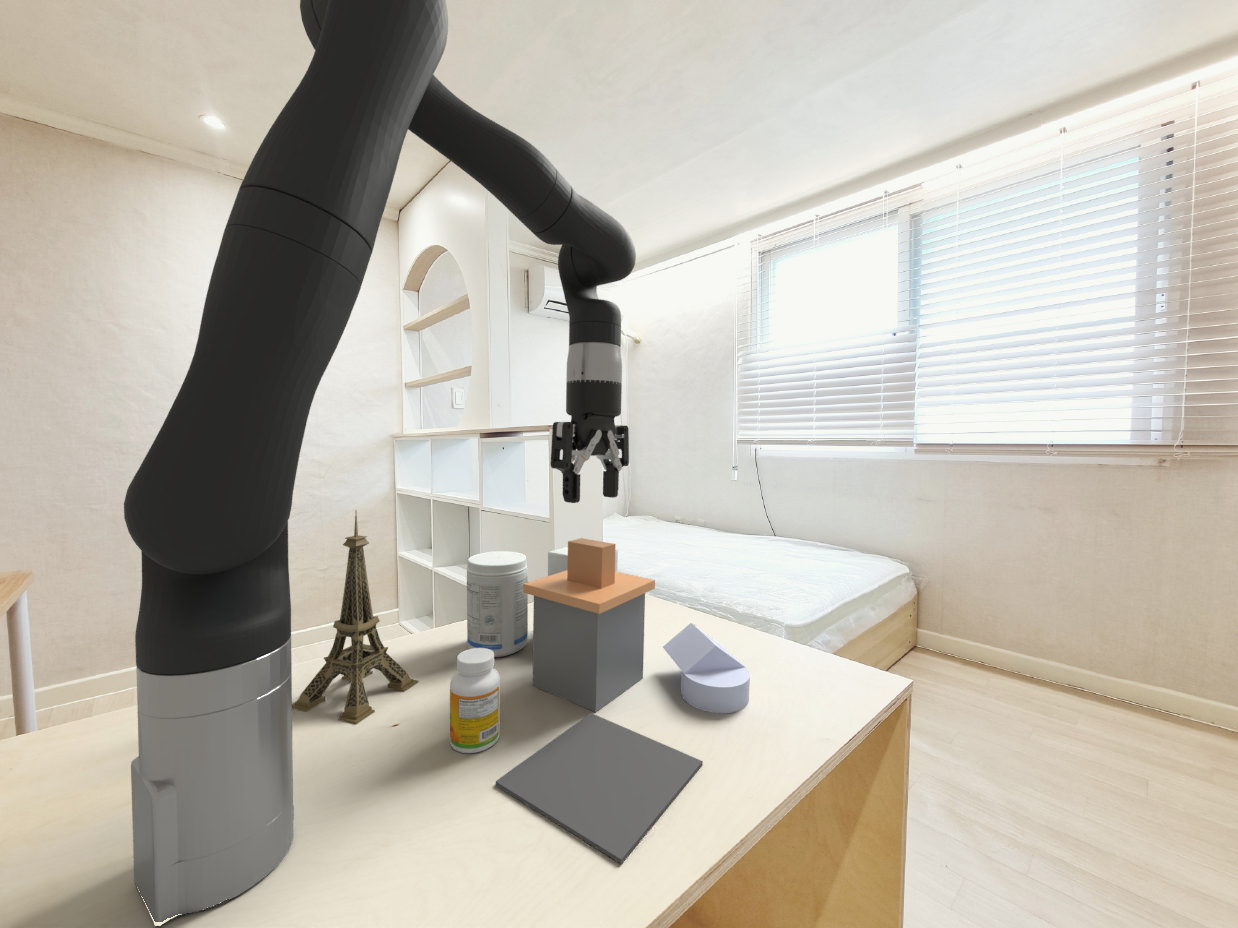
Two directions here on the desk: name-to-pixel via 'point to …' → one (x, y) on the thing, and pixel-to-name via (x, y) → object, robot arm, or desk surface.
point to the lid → (590, 579)
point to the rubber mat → (602, 783)
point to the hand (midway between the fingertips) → (592, 499)
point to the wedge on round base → (708, 672)
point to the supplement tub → (497, 602)
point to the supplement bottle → (474, 702)
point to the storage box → (588, 650)
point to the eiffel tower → (355, 645)
